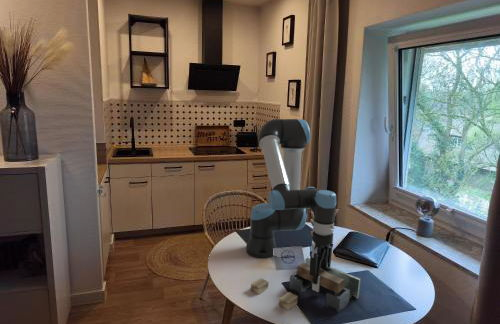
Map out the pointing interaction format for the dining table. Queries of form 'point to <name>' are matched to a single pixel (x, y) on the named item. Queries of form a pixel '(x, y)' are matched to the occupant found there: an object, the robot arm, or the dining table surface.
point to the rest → (284, 301)
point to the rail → (322, 278)
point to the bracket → (332, 300)
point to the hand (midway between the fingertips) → (318, 287)
